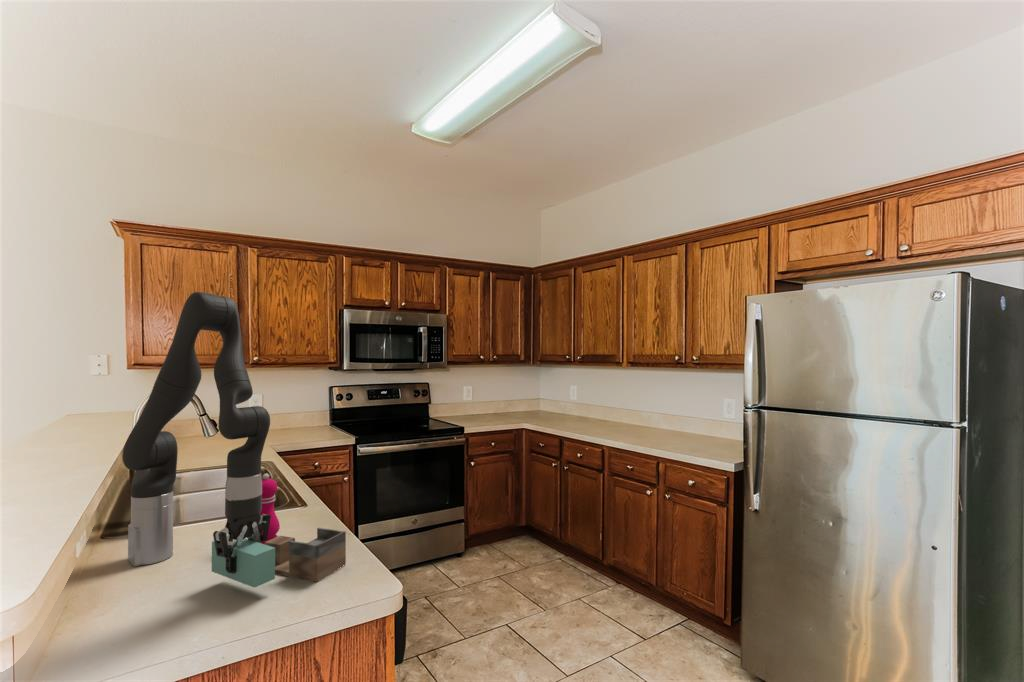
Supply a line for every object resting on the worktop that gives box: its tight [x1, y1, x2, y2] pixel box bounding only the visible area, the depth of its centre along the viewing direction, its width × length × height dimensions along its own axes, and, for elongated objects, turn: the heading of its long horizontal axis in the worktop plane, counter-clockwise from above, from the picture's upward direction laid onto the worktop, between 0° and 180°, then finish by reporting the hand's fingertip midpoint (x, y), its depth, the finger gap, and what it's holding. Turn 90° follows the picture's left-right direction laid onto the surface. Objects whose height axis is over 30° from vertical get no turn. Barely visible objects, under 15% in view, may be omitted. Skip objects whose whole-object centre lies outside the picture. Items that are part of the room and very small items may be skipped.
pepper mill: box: [257, 472, 281, 544], centre depth 145 cm, size 7×7×20 cm
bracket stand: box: [265, 527, 347, 583], centre depth 129 cm, size 21×10×8 cm, turn 69°
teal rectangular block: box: [211, 538, 276, 589], centre depth 117 cm, size 16×5×7 cm, turn 61°
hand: (242, 567), depth 117 cm, fingers closed on teal rectangular block, 5 cm apart
